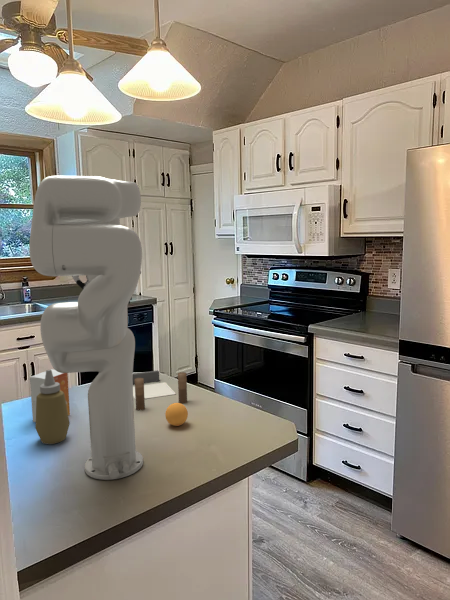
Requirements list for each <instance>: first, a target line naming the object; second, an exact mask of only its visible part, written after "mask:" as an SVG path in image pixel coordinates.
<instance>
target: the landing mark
mask: <svg viewBox="0 0 450 600" xmlns="http://www.w3.org/2000/svg"><path fill="white" fill-rule="evenodd" d="M173 395H174V396H176V392H175V391H174V390H173V389H172V388H171V387H170V386H169V385H168V383H167V382H166V381H165V382H164V381H163V382H156V383H151V384H150V383H149V384H144V399H145V400H146V399H147V400H148V399H155V398H162V397H166V396H167V397H168V396H173ZM133 400H135V401H136V399H135V386H133Z"/></svg>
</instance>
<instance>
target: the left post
mask: <svg viewBox="0 0 450 600" xmlns="http://www.w3.org/2000/svg"><path fill="white" fill-rule="evenodd" d="M144 385H145V383H144V379H143V378H136V379H135V385H134V387H135V399H136V400H135V399H134V400H135V410H136V411H143V410H145V407H146V405H145V400H146V399H144Z"/></svg>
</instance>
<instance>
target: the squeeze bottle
mask: <svg viewBox="0 0 450 600" xmlns="http://www.w3.org/2000/svg"><path fill="white" fill-rule="evenodd" d="M40 392H41V393H39V394H38V395H37V397H36V422H35V430H36V433H37V435H38V437H39V439H40V442H41V443H42V444H45V445H54V444H57V443H61V442H63V441H64V440H66V438H67V435H68V433H69V432H68V431H69V427H70V424H71V423H70V422H71V421H70V417H69V416H68V411H67V405H66V400H65V394H64V392H63V391H61V390H60V384H59V383H58V382H55V380H54V377H53V374H52V371H51V369H47V370H46V376H45V382H44V384H42V385H40Z"/></svg>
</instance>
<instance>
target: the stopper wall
mask: <svg viewBox="0 0 450 600" xmlns="http://www.w3.org/2000/svg"><path fill="white" fill-rule="evenodd" d="M136 378H143V379H144V384H147V383H149V384H150V383H158V382H160V371H159V370H151V371H143V372H136V373H135V372H134V373H133V386H135V379H136Z"/></svg>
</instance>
